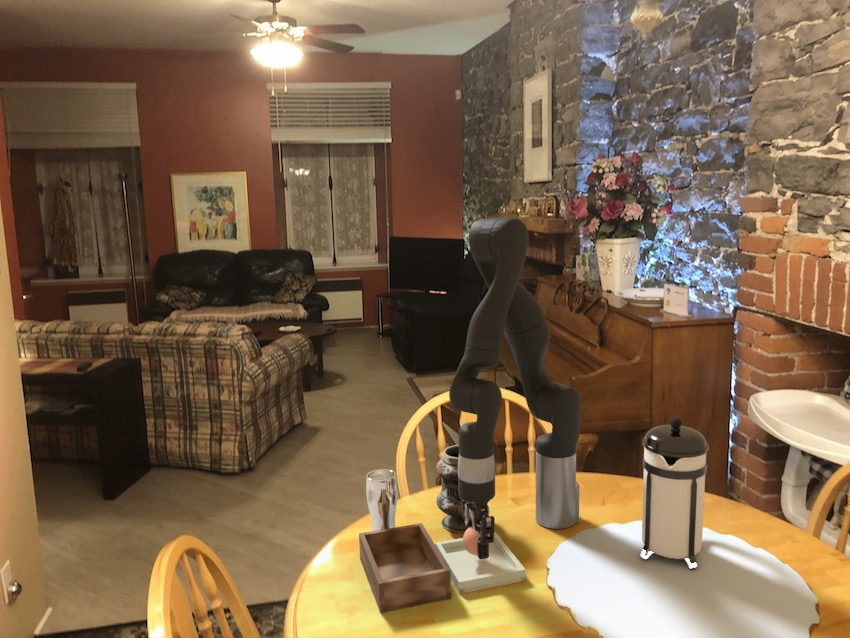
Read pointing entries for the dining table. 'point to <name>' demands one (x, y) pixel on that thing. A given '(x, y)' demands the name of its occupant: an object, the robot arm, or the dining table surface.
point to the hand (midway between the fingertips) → (477, 549)
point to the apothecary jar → (450, 491)
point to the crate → (404, 567)
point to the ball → (471, 541)
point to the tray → (480, 566)
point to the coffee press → (673, 490)
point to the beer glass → (382, 498)
